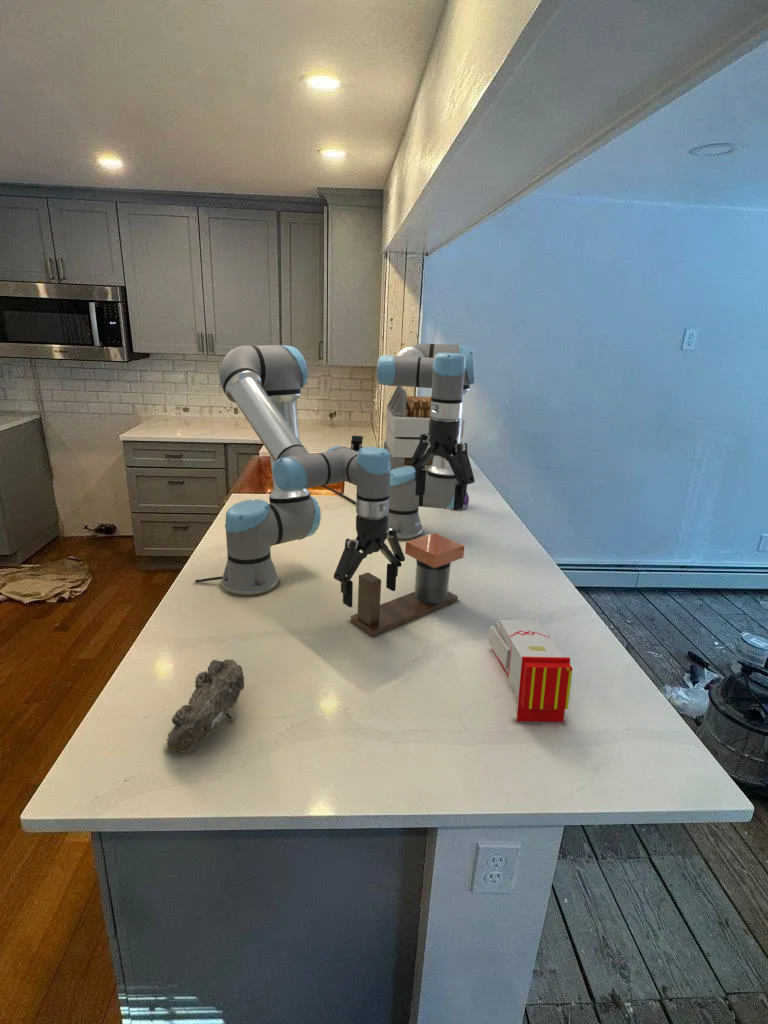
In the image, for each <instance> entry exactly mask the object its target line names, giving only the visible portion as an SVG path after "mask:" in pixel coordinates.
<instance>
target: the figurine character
mask: <svg viewBox="0 0 768 1024" xmlns="http://www.w3.org/2000/svg"><path fill="white" fill-rule="evenodd" d="M363 439H364V436H363V435H351V441H350V449H352V450H354V451H357V452H358V451H359V449H361V448H364V447H363Z"/></svg>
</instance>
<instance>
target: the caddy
mask: <svg viewBox="0 0 768 1024" xmlns="http://www.w3.org/2000/svg"><path fill="white" fill-rule="evenodd" d="M415 561H416V565H415V578H414V579H415V580H414V591H413V592H410V593H408V594H405V595H402V596H400V597H397V598H394V599H392V600H389V601H386V602H383V603H381V594H382V593H381V592H382V579H381V578H379V577H377V576H376V575H374V574H372V573H371V572H369V571H367V572H364V573H362V574H361V573H360V574H358V588H357V589H358V590H357V591H358V592H357V613H355V614H352V615H350V622H351V623H353V624H354V625H356V626H357V627H359V628H360V629H361V630H363V631H365V632H366V633H368V635H370V636H372V637H376V636H378V635H381V634H383V633H385V632H388V631H390V630H392V629H394V628H397V627H400V626H402V625H404V624H406V623H409V622H411V621H414V620H416V619H418V618H421V617H423V616H425V615H428V614H431V613H432V612H435V611H437V610H439V609H442V608H444V607H447V606H449V605H451V604H454V603H456V602H458V600H459V599H458V598H459V597H458V596H459V595H457V594H455V593H452V592H451V591H449V584H450V574H451V572H450V571H451V564H452V562H450V563H447V564H444V565H442V566H439V567H436V568H433V567H431V566H429V565H427V564H425V563H423V562H421V561H419V560H417V559H415Z"/></svg>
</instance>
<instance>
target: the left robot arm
mask: <svg viewBox="0 0 768 1024" xmlns="http://www.w3.org/2000/svg"><path fill="white" fill-rule="evenodd" d="M308 374H309V371H308V366H307V361H306V359H305V357H304V356H303V354H302V352H300V350H299V349H297V348H296V347H294V346H292V345H285V344H269V345H267V344H265V345H264V344H263V345H262V344H261V345H250V344H249V345H248V344H247V345H245V344H244V345H240V346H237V347H235V348H233V349H231V350H229V352H227V354H226V355H225V356H224V357H223V359H222V361H221V362H220V366H219V371H218V377H219V378H218V379H219V383H220V387H221V389H222V391H223V393H224V395H225V396H226V397H227V399H228V400H229V401H230V402H232V403H235V404H236V405H237V407H238V409H240V411H241V413H242V414H243V416H244V417H245V419H246V420H247V422H248V423H249V425H250V426H251V428H252V429H253V431H254V432H255V434H256V436H257V437H258V438H259V440H260V441H261V443H262V445H263V446H264V447H265V449H266V451H267V452H268V453H269V457H270V458H269V459H270V468H271V476H272V477H271V478H272V485H273V486H272V487H273V489H272V491H271V493H270V494H269V495H268V498H269V502H267V501H266V500H263V499H246V500H243V501H239V502H236V503H234V504H233V505H231V506H230V507H229V508H228V509H227V511H226V513H225V523H224V529H225V538H226V539H225V541H226V555H227V561H226V564H225V567H224V571H223V573H222V576H215V577H214V576H213V577H207V578H200V579H195V581H194V582H195V583H204V582H209V581H210V582H211V581H219V580H221V584H222V589H223V590H224V591H225V592H227V593H228V594H232V595H235V596H241V597H253V596H258V595H263V594H266V593H269V592H270V591H272V590H274V589H275V588H276V587H277V586H278V584H279V577H278V576H279V575H278V573H277V570H276V567H275V564H274V562H273V560H272V557H271V547H273V546H276V545H280V544H281V545H282V544H285V543H289V542H294V541H297V540H299V541H300V540H303V539H306V538H308V537H311V536H313V535H315V534H316V532H317V531H318V530H319V528H320V524H321V517H322V516H321V508H320V507H321V506H320V505H319V503H318V501H317V499H316V498H315V497H313V496H311V491H310V490H309V489H310V488H317V487H322V485H325V486H327V485H328V486H329V485H332V484H338V483H345V482H346V483H349V484H352V485H354V486H356V493H355V494H356V495H355V496H356V497H355V499H356V500H355V502H356V504H355V514H356V516H355V531H356V538H353V539H350V538H348V537H347V538H346V539H345V542H344V549H343V551H342V554H341V556H340V559H339V561H338V564H337V566H336V569H335V571H334V574H333V579H334V580H335V581H338V582H339V583H340V593H341V594H342V604H343V605H345V606H347V607H348V608H353V599H354V598H353V597H354V596H353V593H354V592H353V589H354V582H353V581H352V578H353V577H354V575H355V573H356V571H357V570H358V568H359V567H360V565H361V564H362V562H363V560H364V559H366V558H367V556H368V555H372V554H373V553H379V552H381V553H382V555H383V556H384V557H385V558H386V560H387V561H388V563H387V564H386V578H385V579H386V581H385V585H386V586H385V588H386V589H388V590H390V591H392V592H395V591H396V587H397V586H396V585H397V577H398V576H399V568H401V567H402V565H403V562H405V560H406V557H405V553H404V552H403V550H402V547H401V544H400V541H399V540H398V539H397V531H396V530H394V529H392V528H390V527H388V516H387V515H388V513H389V489H390V471H391V464H390V453H389V451H388V450H386V449H384V447H377V446H366V447H365V446H364V447H363V448H361V449H359V451H358V452H357V451H354V450H352V449H351V447H347V446H339V445H334V446H332V447H330V448H329V449H328V450H327V451H323V452H316V453H309V452H308V450H307V448H306V447H305V446H304V445H303V443H302V442H301V439H300V428H299V418H298V410H297V409H298V407H297V400H299V398H300V397H301V395H302V393H301V391H302V390H301V389H303V388H304V387H305V386H306V384H307V380H308V376H309V375H308ZM386 540H387V541H388V544H389V546H390V548H389V546H388V545H387V544H386V542H385V541H386ZM390 549H391V550H390Z"/></svg>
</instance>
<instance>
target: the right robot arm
mask: <svg viewBox="0 0 768 1024" xmlns="http://www.w3.org/2000/svg"><path fill="white" fill-rule="evenodd" d="M474 352H475V351H474V349H473V347H471V346H469V345H463V344H443V343H419V344H414V345H410V346H407V347H404V348H403V349H401V350H400V351H399V352H398V353H397V354H396V355H392V354H389V355H380V356H379V357H378V360H377V365H376V381H377V383H378V384H379V385H381V386H388V387H397V386H401V387H408V388H422V389H431V396H430V397H431V407H430V416H431V417H432V418H431V419H430V420H429V433H427V434H421V436H420V442H419V444H418V447H417V449H416V451H415V453H414V455H413V457H412V459H411V462H410V466H404V467H400V468H396V469H393V470H391V471H390V489H389V513H388V515H387V516H388V527H390V528H392V529H394V530H396V531H397V539H398V541H410V540H413V539H416V538H420V537H422V535H423V525H422V521H421V518H420V515H419V508H420V507H421V508H422V507H423V508H431V509H443V510H454V511H459V510H458V509H461V510H463V509H462V508H463V502H464V497H466V491H467V490H468V485H470V484H474V483H475V482H476V480H475V476H474V473H473V469H472V464H471V461H470V457H469V453H468V443H467V442H463V443H460V439H461V438H460V436H461V425H462V419H463V414H464V413H463V412H464V403H465V394H466V393H467V392H468V391H470V388H471V385H473V384H475V382H476V381H475V379H476V377H475V353H474ZM429 443H430V445H431V446H430V447H429V448H428V450H427V451H426V449H427V447H428V445H429ZM425 451H426V453H425ZM424 453H425V455H424ZM432 458H433V463H432V465H430V466H428V468H427V469H426V467H427V466H426V465H427V464H428V463H429V462H430V461H431V459H432ZM321 488H324V489H326V490H329V491H331V492H332V493H335V494H337V495H339V496H340V497H342V498H344V499H345V500H347V501H349V502H350V503H352V504H354V505H356V500H354V499H352V498H350V497H348V496H347V495H345V494H343V493H341V492H339V491H338V490H335V489H333V488H331V487H329V486H327V485H322V486H321ZM467 492H468V491H467Z"/></svg>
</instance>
